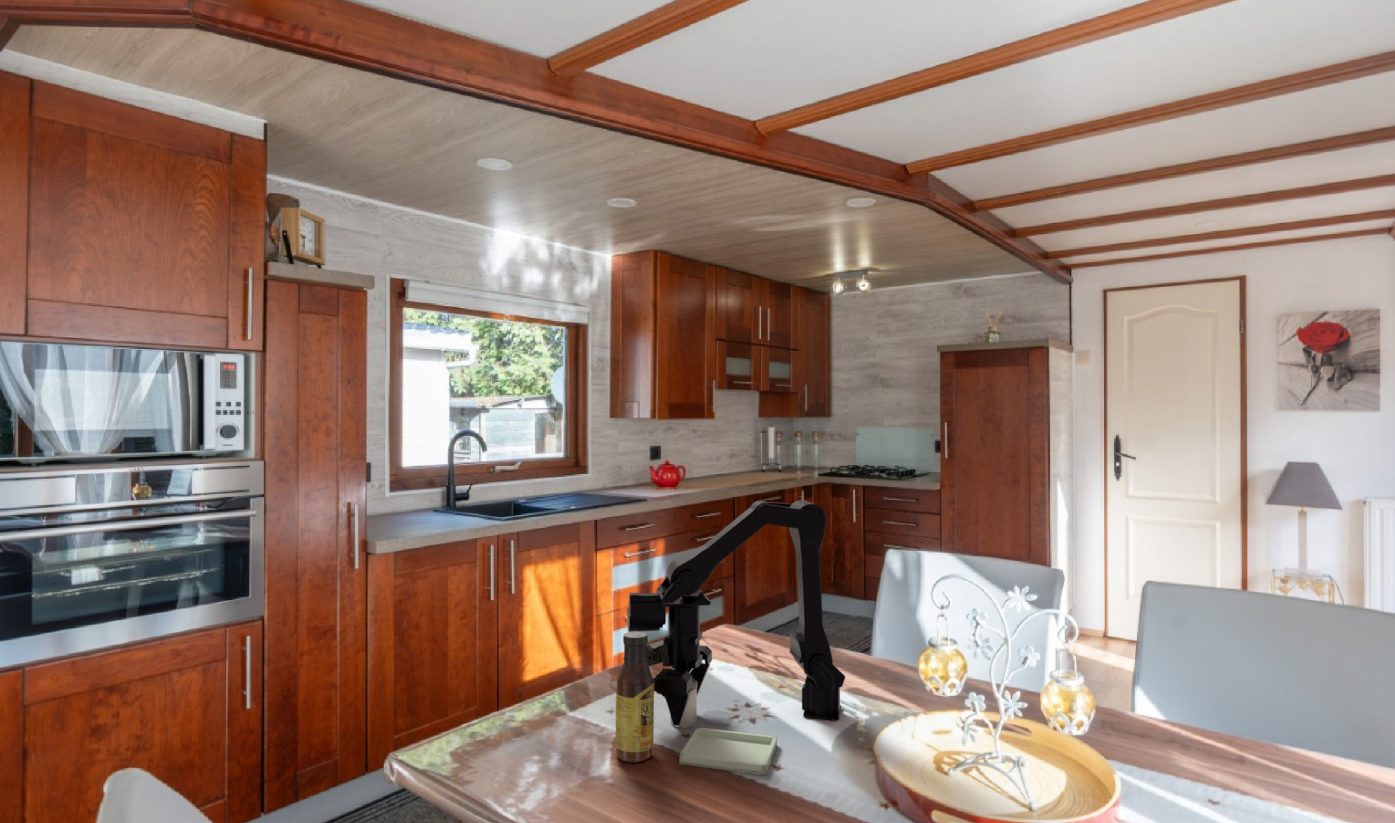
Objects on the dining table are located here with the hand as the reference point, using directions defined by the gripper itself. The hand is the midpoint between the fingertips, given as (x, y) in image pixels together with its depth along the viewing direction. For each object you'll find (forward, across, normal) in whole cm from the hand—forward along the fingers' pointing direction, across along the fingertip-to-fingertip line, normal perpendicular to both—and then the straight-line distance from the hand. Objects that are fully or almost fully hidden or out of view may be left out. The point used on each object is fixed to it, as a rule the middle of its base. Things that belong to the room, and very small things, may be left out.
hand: (683, 714), depth 138 cm
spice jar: (+1, 0, 0) cm, 1 cm away
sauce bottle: (+2, +15, -4) cm, 16 cm away
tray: (+1, +10, +11) cm, 15 cm away
